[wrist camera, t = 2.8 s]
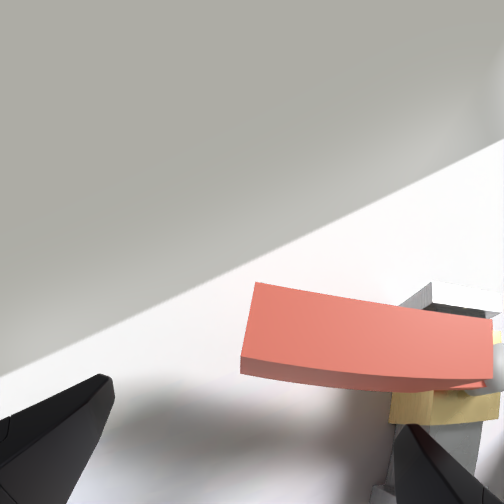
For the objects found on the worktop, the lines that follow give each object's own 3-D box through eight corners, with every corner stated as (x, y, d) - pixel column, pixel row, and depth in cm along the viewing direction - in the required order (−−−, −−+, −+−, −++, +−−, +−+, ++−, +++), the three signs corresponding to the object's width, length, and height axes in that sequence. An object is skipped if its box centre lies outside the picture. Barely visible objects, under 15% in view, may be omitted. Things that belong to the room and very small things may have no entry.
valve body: (440, 493, 13) (483, 504, 9) (369, 502, 13) (404, 524, 9) (458, 317, 19) (499, 294, 15) (395, 308, 19) (432, 281, 15)
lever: (490, 352, 13) (562, 323, 8) (489, 395, 12) (564, 377, 7) (250, 323, 13) (256, 275, 8) (239, 378, 12) (239, 363, 7)
